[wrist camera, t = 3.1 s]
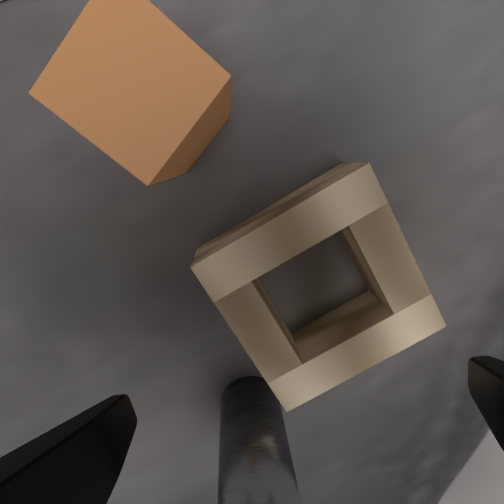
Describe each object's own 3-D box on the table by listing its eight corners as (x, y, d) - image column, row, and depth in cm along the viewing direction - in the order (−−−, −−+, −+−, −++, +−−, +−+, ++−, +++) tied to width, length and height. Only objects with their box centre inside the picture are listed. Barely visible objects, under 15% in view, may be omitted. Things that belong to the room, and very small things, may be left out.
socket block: (277, 371, 24) (286, 412, 20) (197, 248, 21) (190, 267, 18) (410, 298, 23) (446, 326, 19) (343, 162, 21) (369, 162, 17)
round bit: (222, 428, 25) (218, 600, 15) (219, 378, 24) (212, 528, 14) (279, 424, 25) (311, 590, 15) (278, 374, 24) (311, 519, 14)
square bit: (186, 173, 20) (147, 186, 11) (127, 126, 20) (28, 93, 10) (230, 116, 20) (231, 75, 10) (171, 65, 19) (111, -34, 9)
